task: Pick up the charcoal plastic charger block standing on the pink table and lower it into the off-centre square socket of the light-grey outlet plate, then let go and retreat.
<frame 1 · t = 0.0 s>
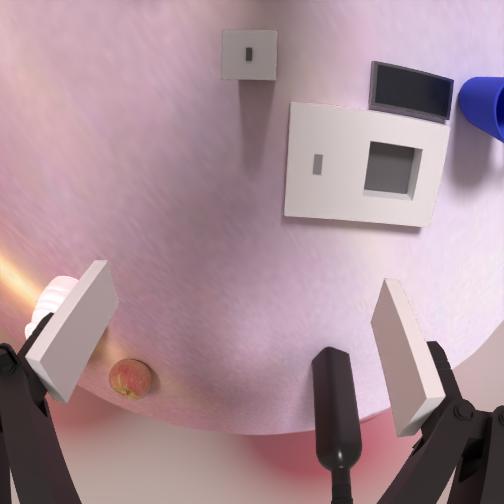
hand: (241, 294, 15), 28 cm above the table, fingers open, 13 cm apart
outlet plate: (365, 163, 38), on the table
apple: (137, 364, 64), on the table
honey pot: (75, 302, 56), on the table
wine bottle: (330, 356, 57), on the table
plug: (257, 59, 33), on the table
mug: (485, 106, 32), on the table
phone: (411, 90, 33), on the table
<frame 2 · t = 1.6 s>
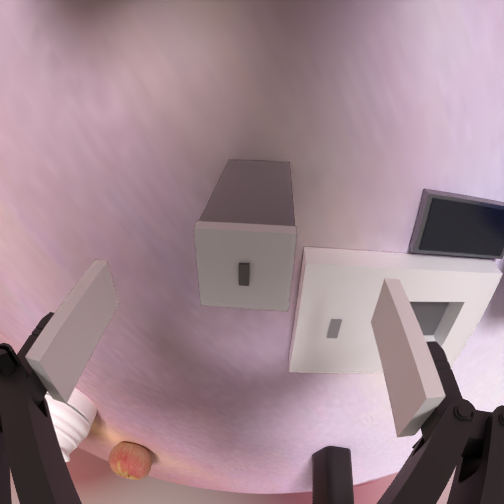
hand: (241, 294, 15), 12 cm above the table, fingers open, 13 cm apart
outlet plate: (392, 311, 31), on the table
apple: (135, 445, 57), on the table
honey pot: (67, 396, 49), on the table
wine bottle: (331, 451, 50), on the table
plug: (258, 188, 25), on the table
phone: (466, 224, 25), on the table
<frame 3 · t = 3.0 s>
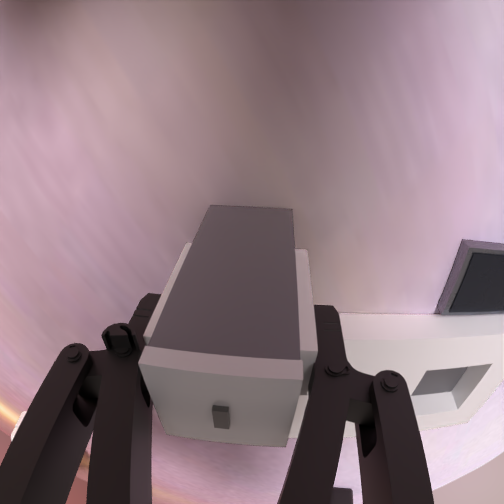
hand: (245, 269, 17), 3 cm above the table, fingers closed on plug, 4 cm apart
outlet plate: (408, 373, 24), on the table
wine bottle: (332, 490, 43), on the table
plug: (250, 242, 19), on the table, touching gripper
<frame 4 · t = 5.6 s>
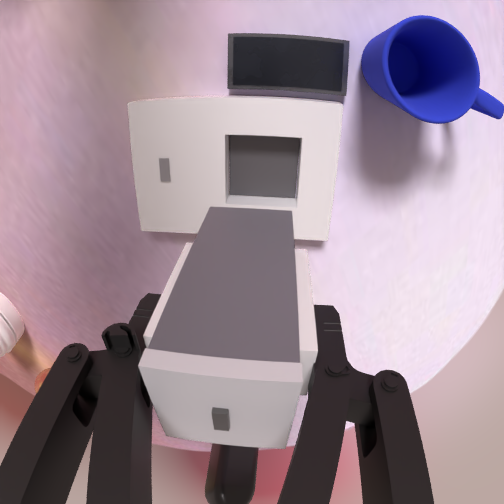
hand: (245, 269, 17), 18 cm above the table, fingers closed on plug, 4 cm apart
outlet plate: (233, 163, 32), on the table
apple: (63, 373, 58), on the table
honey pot: (2, 311, 50), on the table
wine bottle: (242, 381, 51), on the table
plug: (250, 244, 19), point 16 cm above the table, touching gripper
mug: (407, 74, 26), on the table
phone: (288, 62, 27), on the table
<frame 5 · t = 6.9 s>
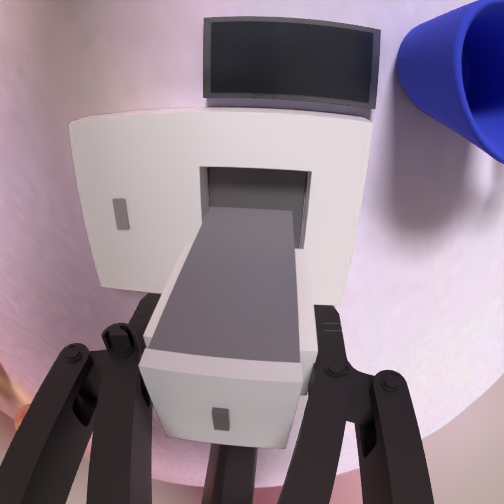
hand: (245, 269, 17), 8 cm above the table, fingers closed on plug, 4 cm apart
outlet plate: (215, 202, 24), on the table
apple: (44, 409, 49), on the table
wine bottle: (235, 434, 43), on the table
plug: (250, 244, 19), point 6 cm above the table, touching gripper
mug: (455, 81, 17), on the table
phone: (291, 58, 18), on the table
when the fingers open (4 cm above the table, at t = 7.9 s): plug drops 1 cm, resting on outlet plate.
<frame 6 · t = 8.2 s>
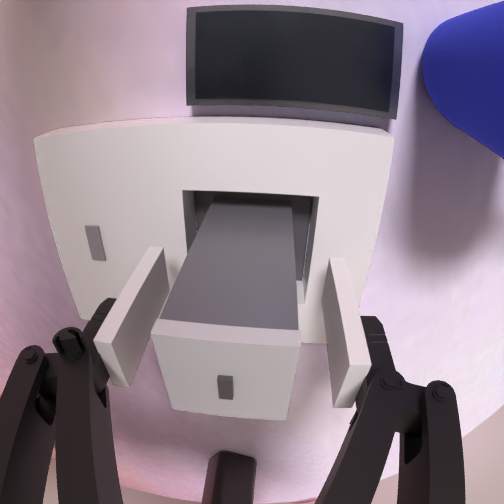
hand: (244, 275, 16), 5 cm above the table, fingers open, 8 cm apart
outlet plate: (204, 228, 20), on the table
wine bottle: (232, 458, 39), on the table
plug: (251, 233, 20), resting on outlet plate
mug: (485, 88, 14), on the table
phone: (294, 56, 15), on the table
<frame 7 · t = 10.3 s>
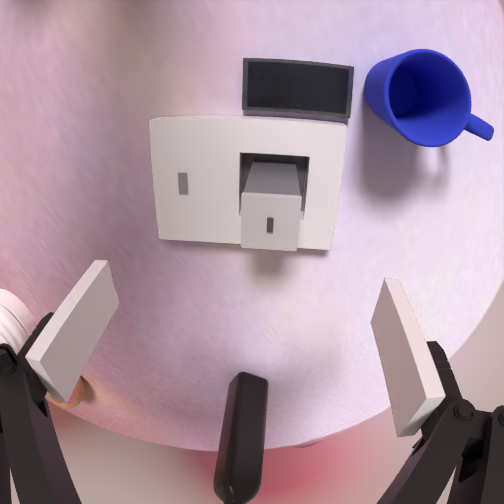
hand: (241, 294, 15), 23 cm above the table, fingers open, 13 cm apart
outlet plate: (246, 178, 36), on the table
apple: (73, 374, 60), on the table
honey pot: (13, 313, 53), on the table
wine bottle: (248, 381, 54), on the table
plug: (273, 180, 35), resting on outlet plate
mug: (406, 97, 29), on the table
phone: (297, 86, 30), on the table
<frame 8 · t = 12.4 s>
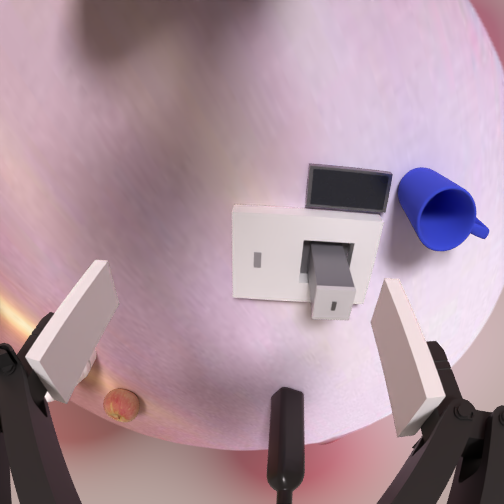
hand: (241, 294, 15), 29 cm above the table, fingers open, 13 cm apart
outlet plate: (303, 253, 47), on the table
apple: (127, 392, 72), on the table
wine bottle: (287, 394, 66), on the table
plug: (324, 255, 47), resting on outlet plate
mug: (428, 192, 40), on the table
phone: (348, 187, 41), on the table
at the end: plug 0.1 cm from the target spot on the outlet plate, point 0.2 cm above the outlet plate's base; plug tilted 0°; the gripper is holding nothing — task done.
